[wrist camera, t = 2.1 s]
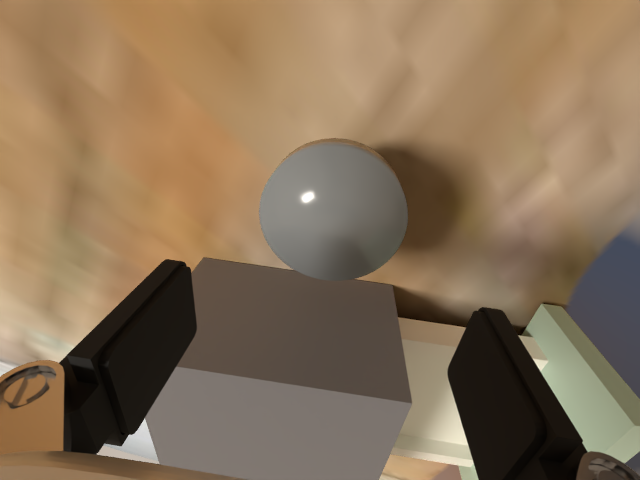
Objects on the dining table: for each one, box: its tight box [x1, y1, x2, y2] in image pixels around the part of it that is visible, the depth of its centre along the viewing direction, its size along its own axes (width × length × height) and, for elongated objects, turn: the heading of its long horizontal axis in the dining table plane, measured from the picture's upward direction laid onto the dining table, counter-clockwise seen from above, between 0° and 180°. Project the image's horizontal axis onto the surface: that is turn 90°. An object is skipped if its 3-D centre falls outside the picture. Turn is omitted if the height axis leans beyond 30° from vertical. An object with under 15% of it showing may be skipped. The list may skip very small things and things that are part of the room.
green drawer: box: [390, 304, 640, 480], centre depth 23 cm, size 14×19×8 cm
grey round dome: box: [259, 138, 408, 281], centre depth 15 cm, size 7×7×2 cm
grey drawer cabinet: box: [145, 258, 412, 480], centre depth 23 cm, size 14×18×9 cm
